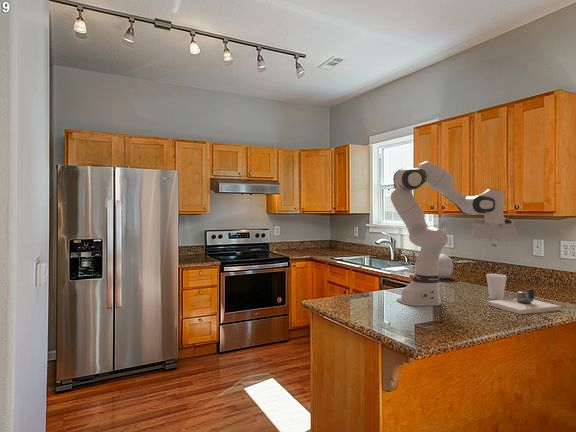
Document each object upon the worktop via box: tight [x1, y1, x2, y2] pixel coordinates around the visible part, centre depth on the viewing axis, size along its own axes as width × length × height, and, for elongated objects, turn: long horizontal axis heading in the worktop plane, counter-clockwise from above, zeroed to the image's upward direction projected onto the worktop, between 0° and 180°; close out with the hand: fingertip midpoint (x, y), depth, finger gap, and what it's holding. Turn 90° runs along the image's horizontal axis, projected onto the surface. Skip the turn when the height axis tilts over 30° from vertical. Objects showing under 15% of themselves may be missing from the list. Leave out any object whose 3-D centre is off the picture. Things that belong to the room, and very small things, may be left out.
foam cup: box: [486, 273, 508, 301], centre depth 198 cm, size 10×9×13 cm
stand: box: [486, 298, 561, 315], centre depth 180 cm, size 26×18×2 cm
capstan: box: [516, 288, 535, 304], centre depth 177 cm, size 16×6×9 cm, turn 160°
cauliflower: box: [414, 253, 454, 280], centre depth 265 cm, size 20×25×22 cm
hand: (493, 247), depth 189 cm, fingers closed
